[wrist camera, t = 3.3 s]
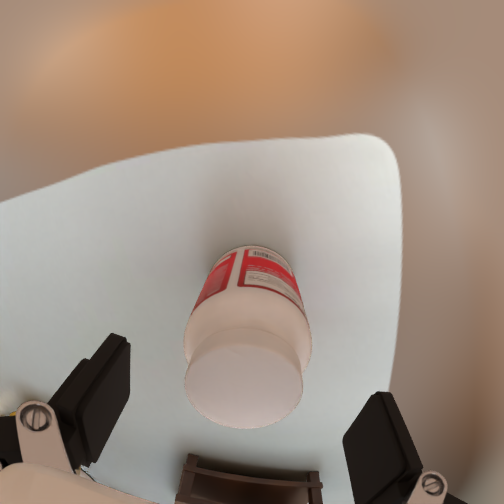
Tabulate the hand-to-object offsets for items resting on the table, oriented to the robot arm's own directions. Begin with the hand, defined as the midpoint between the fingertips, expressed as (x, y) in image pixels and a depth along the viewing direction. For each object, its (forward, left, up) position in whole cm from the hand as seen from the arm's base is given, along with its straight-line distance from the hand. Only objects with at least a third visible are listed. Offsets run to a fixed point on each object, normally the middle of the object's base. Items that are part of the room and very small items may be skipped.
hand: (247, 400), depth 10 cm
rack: (+6, -29, -12) cm, 32 cm away
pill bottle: (0, 0, -12) cm, 12 cm away
